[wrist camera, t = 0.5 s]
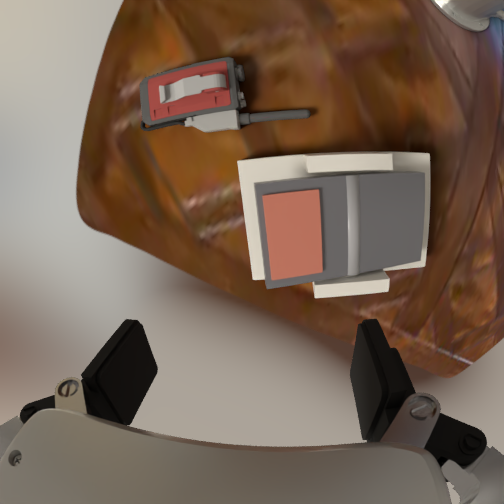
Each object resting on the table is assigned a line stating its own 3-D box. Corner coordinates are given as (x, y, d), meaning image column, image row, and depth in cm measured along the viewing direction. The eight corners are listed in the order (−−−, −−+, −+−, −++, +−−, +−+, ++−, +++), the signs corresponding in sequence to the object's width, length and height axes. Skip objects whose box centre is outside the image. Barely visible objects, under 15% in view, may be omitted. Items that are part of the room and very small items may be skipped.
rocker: (415, 170, 25) (426, 172, 24) (412, 255, 29) (422, 261, 27) (253, 182, 25) (255, 184, 23) (264, 281, 28) (267, 290, 26)
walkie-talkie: (148, 145, 32) (310, 124, 29) (131, 147, 28) (314, 120, 25) (142, 83, 29) (301, 55, 26) (125, 77, 24) (303, 42, 21)
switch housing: (420, 152, 27) (451, 156, 20) (417, 258, 32) (441, 284, 25) (241, 160, 31) (227, 164, 24) (255, 271, 36) (247, 301, 29)
